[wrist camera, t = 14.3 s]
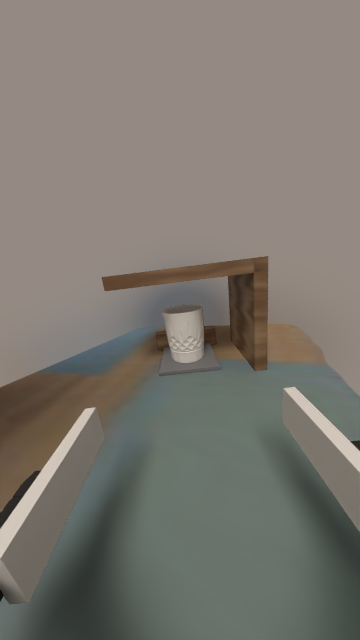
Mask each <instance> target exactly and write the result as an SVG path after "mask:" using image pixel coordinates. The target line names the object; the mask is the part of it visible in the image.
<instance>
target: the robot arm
mask: <svg viewBox="0 0 360 640" xmlns="http://www.w3.org/2000/svg"><path fill="white" fill-rule="evenodd" d="M282 422H283V423H284V425H285V426H286V427H287V429H288V430H289V432H290V433H291V435H292V436H293V437H294V439H295V440H296V442H297V443H298V445H299V446H300V447H301V449H302V450H303V452H304V453H305V455H306V456H307V458H308V459H309V460H310V462H311V463H312V465H313V466H314V468H315V469H316V470H317V472H318V473H319V475H320V476H321V478H322V479H323V480H324V482H325V483H326V485H327V486H328V488H329V489H330V490H331V492H332V493H333V495H334V496H335V498H336V499H337V501H338V502H339V503H340V505H341V506H342V508H343V509H344V511H345V512H346V513H347V515H348V516H349V518H350V519H351V521H352V522H353V523H354V525H355V526H356V528H357V529H358V531H359V532H360V441H349V440H348V439H347V438H346V437H345V436H344V435H343V434H342V433H341V432H340V431H339V430H338V429H337V428H336V427H335V426H334V425H333V424H332V423H331V422H330V421H329V420H328V419H327V418H326V417H324V416H323V415H322V414H321V413H320V412H319V411H318V410H317V409H316V408H315V407H314V406H313V405H312V404H311V403H310V402H309V401H308V400H307V399H306V398H305V397H304V396H303V395H302V394H301V393H300V392H299V391H298V390H297V389H296V388H295V387H291V388H283V406H282ZM104 439H105V437H104V433H103V430H102V427H101V423H100V420H99V416H98V413H97V410H96V408H87V409H85V410H84V411H83V413H82V414H81V415H80V417H79V418H78V420H77V421H76V423H75V424H74V425H73V427H72V428H71V430H70V431H69V432H68V434H67V435H66V437H65V438H64V440H63V441H62V442H61V444H60V445H59V447H58V448H57V449H56V451H55V452H54V454H53V455H52V457H51V458H50V459H49V461H48V462H47V464H46V465H45V466H44V468H43V469H42V471H35V472H34V473H33V474H32V475H31V476H30V477H29V478H28V479H27V480H26V481H25V482H23V484H22V485H21V486H20V488H19V489H18V490H17V492H16V493H15V494H14V496H13V498H12V499H11V500H10V501H9V502H8V504H7V505H6V506H5V508H4V510H3V511H2V512H1V513H0V601H1V599H2V598H3V596H4V597H5V599H6V600H7V601H8V603H9V604H21V603H29V602H30V600H31V598H32V596H33V594H34V591H35V589H36V587H37V585H38V583H39V581H40V578H41V576H42V574H43V572H44V570H45V568H46V565H47V563H48V561H49V559H50V557H51V554H52V552H53V550H54V548H55V546H56V544H57V541H58V539H59V537H60V535H61V533H62V530H63V528H64V526H65V524H66V522H67V520H68V517H69V515H70V513H71V511H72V509H73V506H74V504H75V502H76V500H77V498H78V496H79V493H80V491H81V489H82V487H83V485H84V483H85V480H86V478H87V476H88V474H89V472H90V469H91V467H92V465H93V463H94V461H95V459H96V456H97V454H98V452H99V450H100V448H101V445H102V443H103V441H104Z"/></svg>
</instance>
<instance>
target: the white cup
mask: <svg viewBox="0 0 360 640" xmlns="http://www.w3.org/2000/svg"><path fill="white" fill-rule="evenodd" d="M162 313H163V318H164V323H165V329H166V334H167V338H168V343H169V346H170V350H171V355H172V359H173V360H174V361H176V362H179V363H192V362H196V361H198V360H200V359H202V357H203V356H204V322H203V307H202V306H200V305H181V306H175V307H171V308H167V309H165V310H163V311H162Z"/></svg>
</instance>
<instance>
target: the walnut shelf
mask: <svg viewBox="0 0 360 640" xmlns="http://www.w3.org/2000/svg"><path fill="white" fill-rule="evenodd" d="M223 276H228V285H229V286H228V287H229V307H230V329H231V340H232V342H233V343H234V344H235V346H236V347H237V348H238V349H239V351H240V352H241V353H242V355H243V356H244V357H245V359H246V360H247V361H248V362H249V364H250V365H251V366H252V368H253V369H254V370H255V371H256V370H266V369H267V315H268V256H267V257H259V258H251V259H243V260H235V261H227V262H219V263H212V264H204V265H195V266H188V267H180V268H172V269H164V270H157V271H149V272H140V273H133V274H124V275H117V276H109V277H102V281H103V286H104V290H105V291H110V290H118V289H126V288H134V287H142V286H151V285H158V284H166V283H175V282H183V281H191V280H199V279H207V278H215V277H223ZM156 339H157V345H158V350H164V347H170V346H169V343H168V338H167V334H166V331H164V332H157V333H156ZM208 342H210V344H216V337H215V328H214V326H208V327H204V343H208Z"/></svg>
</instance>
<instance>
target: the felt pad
mask: <svg viewBox="0 0 360 640" xmlns="http://www.w3.org/2000/svg"><path fill="white" fill-rule="evenodd" d="M218 369H220V365H219V363H218V361H217V358H216V356H215V354H214V351H213V349H212V347H211V344H210V342H208V343H204V356H203V357H202V359H200V360H198V361H196V362H192V363H179V362H176V361H174V360H173V359H172V355H171V350H170V347H164V350H163V355H162V359H161V364H160V368H159V376H162V375H171V374H181V373H190V372H200V371H209V370H218Z"/></svg>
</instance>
